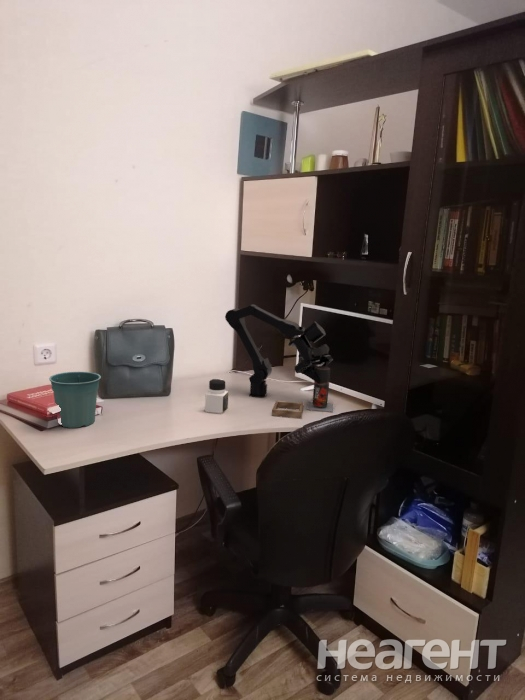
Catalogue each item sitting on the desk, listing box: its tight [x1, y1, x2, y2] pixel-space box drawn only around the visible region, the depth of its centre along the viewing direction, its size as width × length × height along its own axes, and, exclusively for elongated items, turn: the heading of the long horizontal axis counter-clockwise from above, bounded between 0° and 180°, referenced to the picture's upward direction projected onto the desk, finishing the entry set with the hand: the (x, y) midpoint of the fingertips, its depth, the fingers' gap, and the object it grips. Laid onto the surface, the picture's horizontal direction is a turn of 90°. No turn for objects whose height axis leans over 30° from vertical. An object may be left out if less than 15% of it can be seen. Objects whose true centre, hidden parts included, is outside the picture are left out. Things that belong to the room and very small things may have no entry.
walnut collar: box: [271, 400, 304, 419], centre depth 191 cm, size 11×11×2 cm
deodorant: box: [312, 365, 331, 407], centre depth 198 cm, size 6×6×15 cm
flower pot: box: [48, 371, 102, 429], centre depth 170 cm, size 16×16×16 cm
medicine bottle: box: [204, 378, 229, 415], centre depth 189 cm, size 7×7×12 cm
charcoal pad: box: [306, 401, 334, 413], centre depth 199 cm, size 10×10×1 cm
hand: (324, 381), depth 196 cm, fingers closed on deodorant, 6 cm apart
